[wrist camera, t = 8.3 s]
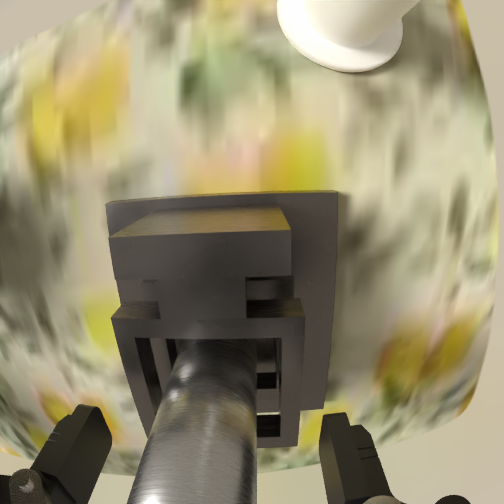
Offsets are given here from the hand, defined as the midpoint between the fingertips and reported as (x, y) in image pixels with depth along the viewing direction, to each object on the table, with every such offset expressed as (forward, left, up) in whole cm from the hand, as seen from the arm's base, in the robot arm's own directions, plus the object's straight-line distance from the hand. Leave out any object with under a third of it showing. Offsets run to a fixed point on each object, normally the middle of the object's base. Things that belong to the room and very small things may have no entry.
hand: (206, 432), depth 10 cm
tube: (0, 0, -8) cm, 8 cm away
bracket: (0, 0, -9) cm, 9 cm away
